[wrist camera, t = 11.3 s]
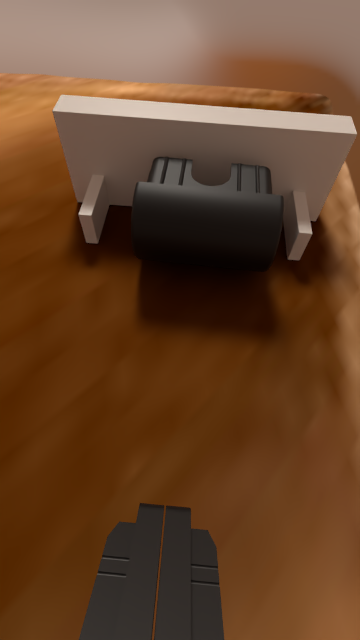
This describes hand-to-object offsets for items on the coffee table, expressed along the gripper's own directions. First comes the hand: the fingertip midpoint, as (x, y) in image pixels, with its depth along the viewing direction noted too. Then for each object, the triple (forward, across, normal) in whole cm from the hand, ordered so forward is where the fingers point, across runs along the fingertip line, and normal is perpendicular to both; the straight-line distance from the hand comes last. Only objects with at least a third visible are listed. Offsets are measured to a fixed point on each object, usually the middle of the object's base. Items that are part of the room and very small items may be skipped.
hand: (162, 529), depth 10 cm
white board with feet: (+23, 0, -10) cm, 25 cm away
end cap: (+21, -1, -7) cm, 22 cm away
